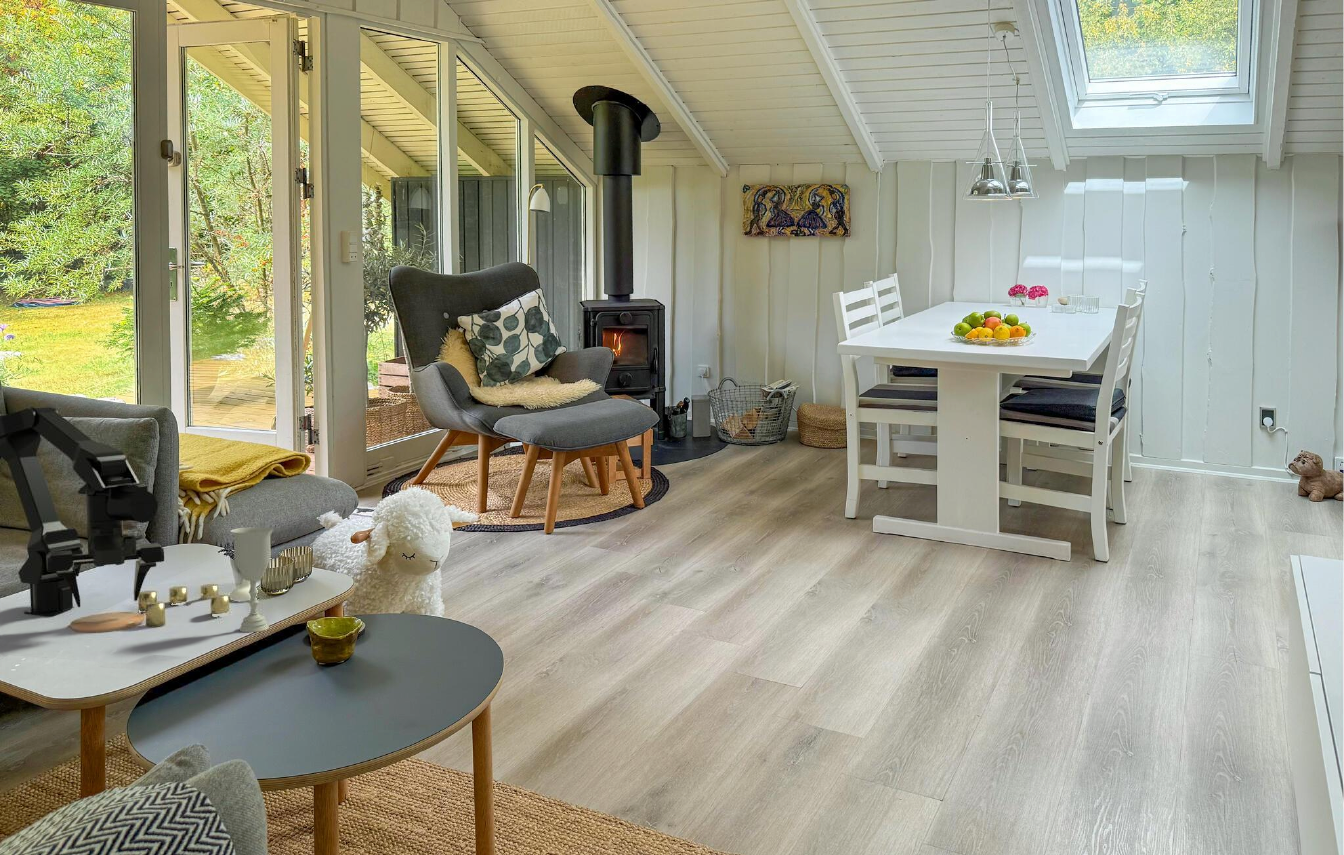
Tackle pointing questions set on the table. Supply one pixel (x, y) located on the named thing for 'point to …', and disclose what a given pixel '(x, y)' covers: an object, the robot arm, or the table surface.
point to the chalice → (252, 568)
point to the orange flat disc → (107, 622)
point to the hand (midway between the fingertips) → (107, 603)
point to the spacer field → (179, 595)
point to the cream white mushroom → (241, 591)
